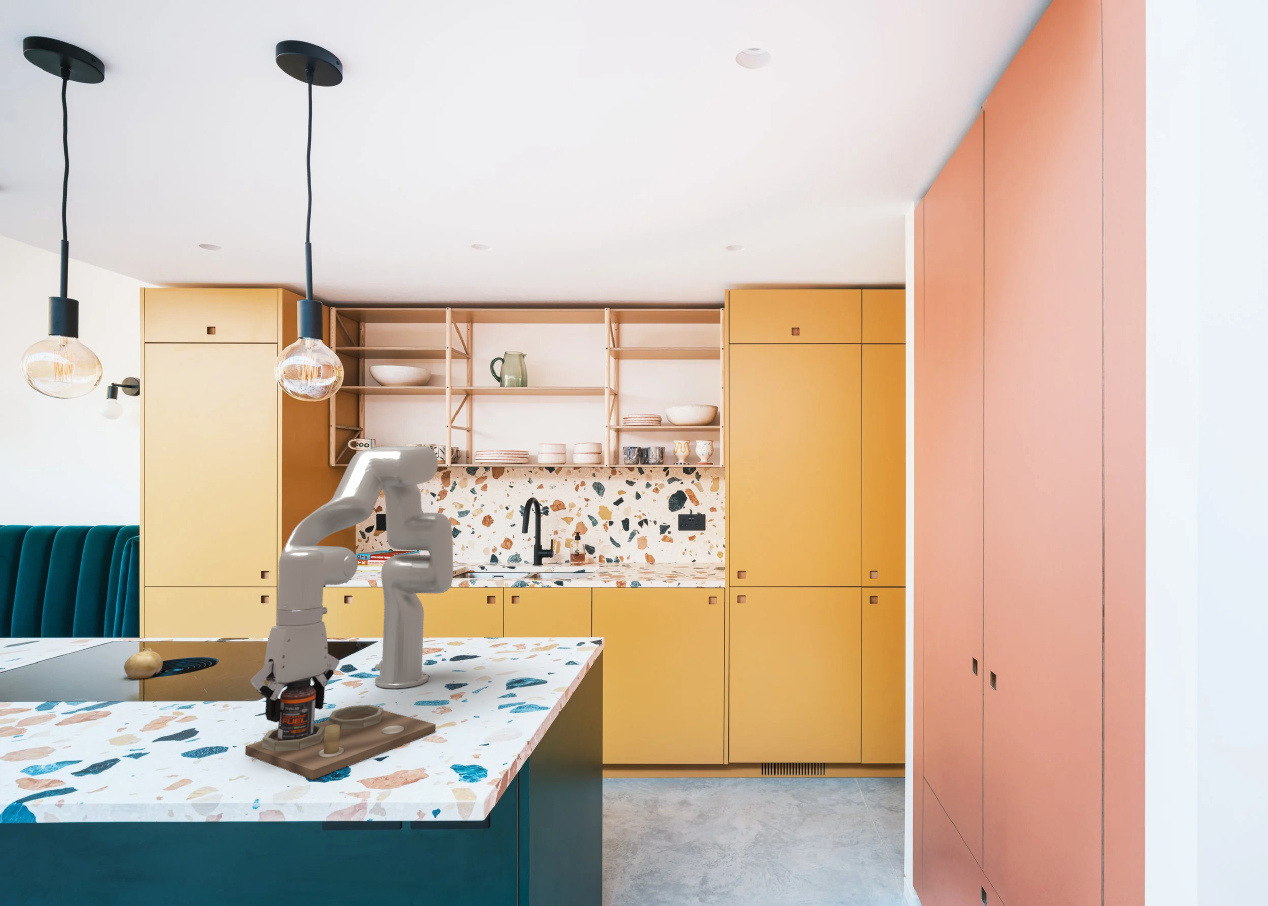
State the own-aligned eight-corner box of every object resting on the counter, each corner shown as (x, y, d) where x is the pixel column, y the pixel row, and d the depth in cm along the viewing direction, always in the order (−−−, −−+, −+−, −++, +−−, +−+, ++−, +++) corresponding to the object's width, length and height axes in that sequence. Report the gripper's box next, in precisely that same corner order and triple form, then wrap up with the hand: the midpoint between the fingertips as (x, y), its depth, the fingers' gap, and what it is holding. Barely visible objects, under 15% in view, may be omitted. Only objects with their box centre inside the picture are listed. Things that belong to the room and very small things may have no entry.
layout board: (245, 754, 117) (246, 720, 117) (369, 714, 139) (370, 685, 140) (312, 779, 107) (314, 742, 107) (435, 731, 129) (436, 700, 129)
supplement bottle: (276, 748, 116) (279, 683, 117) (277, 737, 121) (280, 675, 122) (314, 743, 119) (316, 679, 119) (313, 732, 124) (316, 671, 125)
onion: (167, 676, 167) (169, 647, 168) (131, 683, 161) (133, 653, 161) (154, 671, 172) (155, 643, 172) (117, 678, 165) (119, 649, 166)
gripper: (329, 608, 131) (326, 698, 129) (240, 622, 116) (235, 724, 114) (353, 612, 127) (350, 705, 126) (264, 627, 112) (259, 732, 111)
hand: (295, 713), depth 120 cm, fingers open, 7 cm apart
